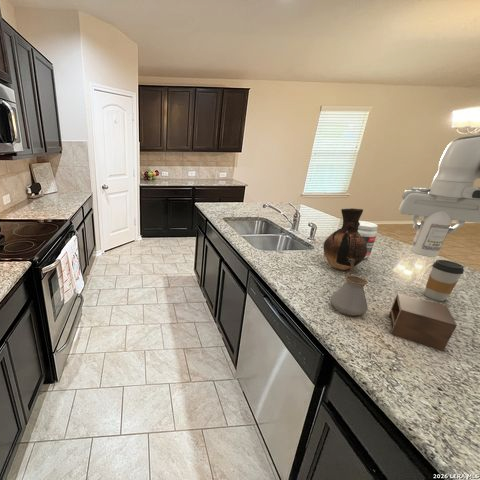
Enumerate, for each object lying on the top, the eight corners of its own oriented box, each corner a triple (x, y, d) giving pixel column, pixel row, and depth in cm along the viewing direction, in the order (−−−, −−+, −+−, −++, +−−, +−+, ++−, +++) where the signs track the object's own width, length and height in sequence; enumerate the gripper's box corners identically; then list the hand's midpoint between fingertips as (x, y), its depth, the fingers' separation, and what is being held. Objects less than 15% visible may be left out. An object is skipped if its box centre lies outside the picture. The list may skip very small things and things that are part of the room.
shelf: (434, 329, 85) (446, 305, 81) (443, 351, 76) (457, 325, 72) (388, 315, 92) (397, 292, 88) (391, 334, 83) (401, 309, 79)
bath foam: (442, 256, 86) (469, 199, 79) (425, 258, 85) (451, 199, 78) (420, 249, 92) (442, 194, 85) (404, 250, 91) (425, 195, 84)
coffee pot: (368, 323, 87) (381, 285, 82) (329, 312, 93) (339, 277, 87) (359, 293, 105) (370, 261, 99) (326, 286, 110) (335, 255, 105)
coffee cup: (447, 305, 97) (464, 270, 92) (418, 295, 104) (432, 262, 98) (450, 298, 102) (467, 264, 96) (422, 289, 108) (436, 257, 103)
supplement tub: (370, 261, 133) (382, 228, 126) (341, 256, 139) (350, 224, 132) (367, 253, 143) (377, 222, 136) (340, 248, 149) (348, 218, 143)
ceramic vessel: (359, 280, 115) (380, 216, 104) (315, 268, 125) (330, 210, 115) (361, 263, 130) (379, 207, 120) (322, 255, 141) (336, 202, 130)
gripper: (406, 187, 84) (393, 227, 89) (502, 194, 72) (480, 239, 77) (404, 185, 89) (391, 223, 94) (494, 191, 77) (474, 234, 82)
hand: (432, 230), depth 85 cm, fingers closed on bath foam, 7 cm apart
